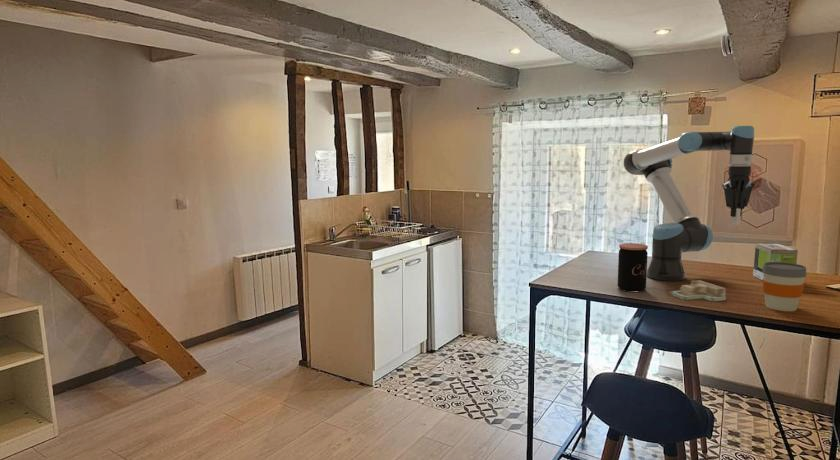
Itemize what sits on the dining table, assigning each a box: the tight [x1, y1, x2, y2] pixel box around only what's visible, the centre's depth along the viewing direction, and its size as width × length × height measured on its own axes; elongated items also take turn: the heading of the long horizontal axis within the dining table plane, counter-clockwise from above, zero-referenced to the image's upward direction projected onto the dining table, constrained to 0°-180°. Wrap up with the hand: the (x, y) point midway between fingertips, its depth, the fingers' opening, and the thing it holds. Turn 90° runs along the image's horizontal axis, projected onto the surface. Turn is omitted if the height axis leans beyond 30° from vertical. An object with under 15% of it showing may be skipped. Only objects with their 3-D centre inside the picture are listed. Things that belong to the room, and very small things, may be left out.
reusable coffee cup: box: [761, 262, 807, 312], centre depth 177 cm, size 13×13×15 cm
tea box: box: [752, 243, 798, 281], centre depth 214 cm, size 15×10×15 cm, turn 168°
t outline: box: [669, 286, 727, 303], centre depth 195 cm, size 14×17×1 cm
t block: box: [681, 279, 727, 297], centre depth 195 cm, size 12×13×4 cm
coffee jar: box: [617, 242, 649, 292], centre depth 205 cm, size 11×11×18 cm
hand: (735, 224), depth 204 cm, fingers closed
